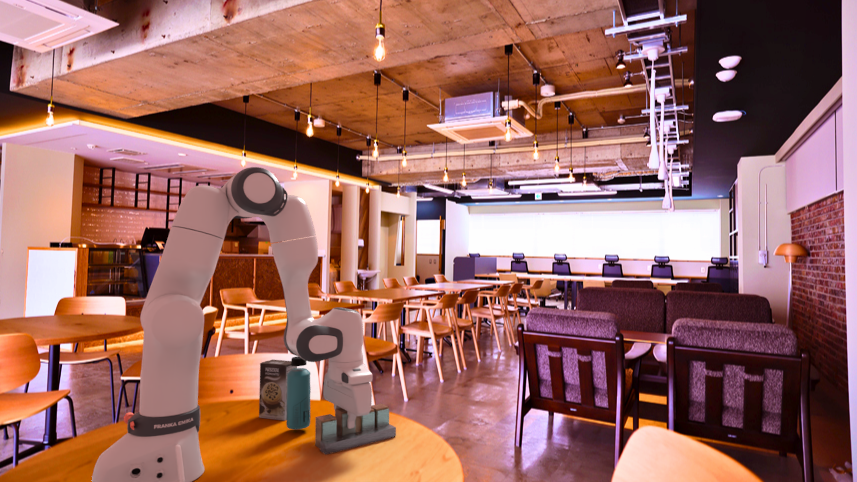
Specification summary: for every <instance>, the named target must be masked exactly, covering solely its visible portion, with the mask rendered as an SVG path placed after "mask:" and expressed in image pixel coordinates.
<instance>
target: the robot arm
mask: <svg viewBox="0 0 857 482" xmlns="http://www.w3.org/2000/svg"><path fill="white" fill-rule="evenodd" d="M251 218H259V219H261V221H263V222H264V224H265V225H266V228H267V230H268V234H269V241H270V247H271V252H272V255H273V259H274V263H275V265H276V268H277V272H278V274H279V277H280V281H281V284H282V291H283V297H284V305H285V310H286V325H285V327H284V328H285V329H284V332H283V343H284V346H285V349H286V350H287V351H288V352H289V353H290V354H292V355H294V356H295V357H298V356H299V357H300V358H302V359H304V360H306V362H308V363H318V362H322V361H325V360H328V368H327V369H326V370H327V371H326V373H325V374H324V380H323V392H322V393H323V398H324V400H326V401H328V402H329V403H332V404H333V409H334V410H335V409H337V408H342V409H344V410H346V411H347V414H348V415H349V416H348V420H346V427H347V428H349V429H351V428H354V426H355V419H356V417H357V416H363V415H367V414H369V412H370V410H371V406H372V400H373V399H372V397H373V395H372V394H373V393H372V392H373V389H372V385H371V382H373V376H374V375H373V373H372V372H371V370H370V369H369V368H368V367H367V366H366V364H365V363H364V355H363V349H362V348H363V345H364V324H363V318H362V315H361V313H360V312H359V311H357V310H355V309H351V308H347V307H346V308H345V307H340V306H339V307H337V306H336V307H333V308H332V309H331V310H330V311H329V312H327V313H326V314H324V315H322V316H321V317H319V318H316V319H315V318H314V316H313V314H312V308H311V302H310V300H311V299H310V295H309V287H308V286H309V284H308V283H309V279H310V276H311V274H312V272H313V270H314V269H315V268H316V266H317V264H318V261H319V247H318V240H317V236H316V231H315V226H314V221H313V219H312V215H311V213H310V210H309V207H308V205H307V202H306V201H305V200H304V199H303V198H302V197H300V196H297V195H292V194H288V192H287V190H286V189H285V188H284V187H283V185H282V184H281V183H280V181H279V180H278V178H277V177H276V175H274V174H273V173H272V171H270V170H269V169H267V168H263V167H259V166H251V167H245V168H244V169H243V168H242V170H240V171H239V172H237V173H235V174H234V175H232V176H231V177H230V178H229V179H228V180H227V181H226V182H225V184H223V185H222V186H221V187H214V186H212V185H205V184H203V185H196V186H193V187H191V188H190V189H189V190H187V192H186V193H185V195H184V197H183V199H182V201H181V203H180V205H179V207H178V209H177V210H176V213H175V216H174V218H173V221H172V224H171V227H170V230H169V232H168V237H167V238H166V239H167V240H166V243H165V245H164V248H163V252H162V254H161V258H160V261H159V263H158V266H157V269H156V271H155V273H154V276H153V278H152V282H151V285H150V287H149V289H148V292H147V294H146V297H145V300H144V304H143V306H142V309H141V312H140V318H139V319H140V324H141V325H140V326H141V327H142V329H143V342H142V343H143V345H142V358H141V370H140V377H139V378H140V379H139V380H140V382H139V383H140V384H139V411H137V413H133V412H131V411H130V412H126V413H125V415H124V416H123V422H124V423H125V424H126V425H127V433H126V434H124V435H122V437H121V438H119V439H118V440H117V441H115V442H114V443H113V444H112V445H110V447H108V448H107V449H106V450H104V451H103V452H102V453H101V454H100V455H99V457H98V459H96V462H95V465H94V468H93V470H92V471H93V473H92V476H91V477H92V480H91V481H92V482H193V481H195V480H197V479H199V477H201V476H202V475H203V474H204V472H205V465H204V463H203V459H202V455H201V449H200V448H201V447H200V441H199V431H200V428H201V408H200V407H201V406H200V405H199V404H198V403H199V402H198V401H199V398H198V396H199V372H200V371H199V370H200V361H201V357H202V356H201V355H202V349H203V348H202V347H203V339H204V337H203V336H204V327H205V314H204V311H203V308H202V307H201V303H202V301H203V299H204V296H205V293H206V291H207V288H208V286H209V283H210V282H211V279H212V277H213V276H214V273H215V270H216V268H217V264H218V261H219V257H220V253H221V250H222V247H223V245H224V240H225V237H226V235H227V230H228V227H229V224H230V222H231V221H232V220H233V219H243V220H244V219H251Z"/></svg>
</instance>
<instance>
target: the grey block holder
mask: <svg viewBox="0 0 857 482" xmlns="http://www.w3.org/2000/svg"><path fill="white" fill-rule="evenodd" d="M336 425H337V420H336V417H335V415H333V414H331V413H329V414H325V415H324V414H323V415H320V416H315V428H314V429H315V431H314V432H315V435H314V436H315V438H314V439H315V441H314V442H315V445H314V446H315V447H317V448H318V449H319V452H320V453H322V454H324V455H325V456H326V455H330V454H334V453H338V452H341V451H346V450H350V449H353V448H357V447H360V446H361V447H362V446H365V445H368V444H369V445H370V444H373V443H376V442H380V441H384V440H389V439H392V438H395V437H394V436H397V427H396V426H394V425H392V424H390V407H389V405H386V404H384V403H377V404H371V410H370V412H369V414H367V415H363V416H357V417H356V428H355V433H351V434H347V435H343V436H339V437H336ZM391 437H392V438H391Z"/></svg>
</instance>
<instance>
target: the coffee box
mask: <svg viewBox="0 0 857 482" xmlns="http://www.w3.org/2000/svg"><path fill="white" fill-rule="evenodd" d="M259 365H260V366H259V367H260V368H259V395H258V396H259V402H258V403H259V404H258V410H259V411H258V418H260V419H269V420H276V421H287V416H286V415H287V410H286V408H287V407H286V406H287V374H288V372H289V371H291V370H292V369H296V368H298V366H291V360H281V359H270V360H265V361H263V362H262V361H261V362H260V363H259Z"/></svg>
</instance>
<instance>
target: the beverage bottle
mask: <svg viewBox="0 0 857 482" xmlns="http://www.w3.org/2000/svg"><path fill="white" fill-rule="evenodd" d="M290 361H291V366H297V368H296V369H292V370H291V371H289V372H288V374H287V406H286V407H287V408H286V410H287V415H286V416H287V419H286V421H285V423H286V428H287V429H289V430H290V429H291V430H302V429H307V428H308V427H309V426H310V425H311V422H312V421H311V416H312V413H311V408H312V407H311V393H312V392H311V371H309V370H308V369H307V368H304V366H307V361H306V360H304V359H302V358H300V357H299V356H294V357H291V360H290Z"/></svg>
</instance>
